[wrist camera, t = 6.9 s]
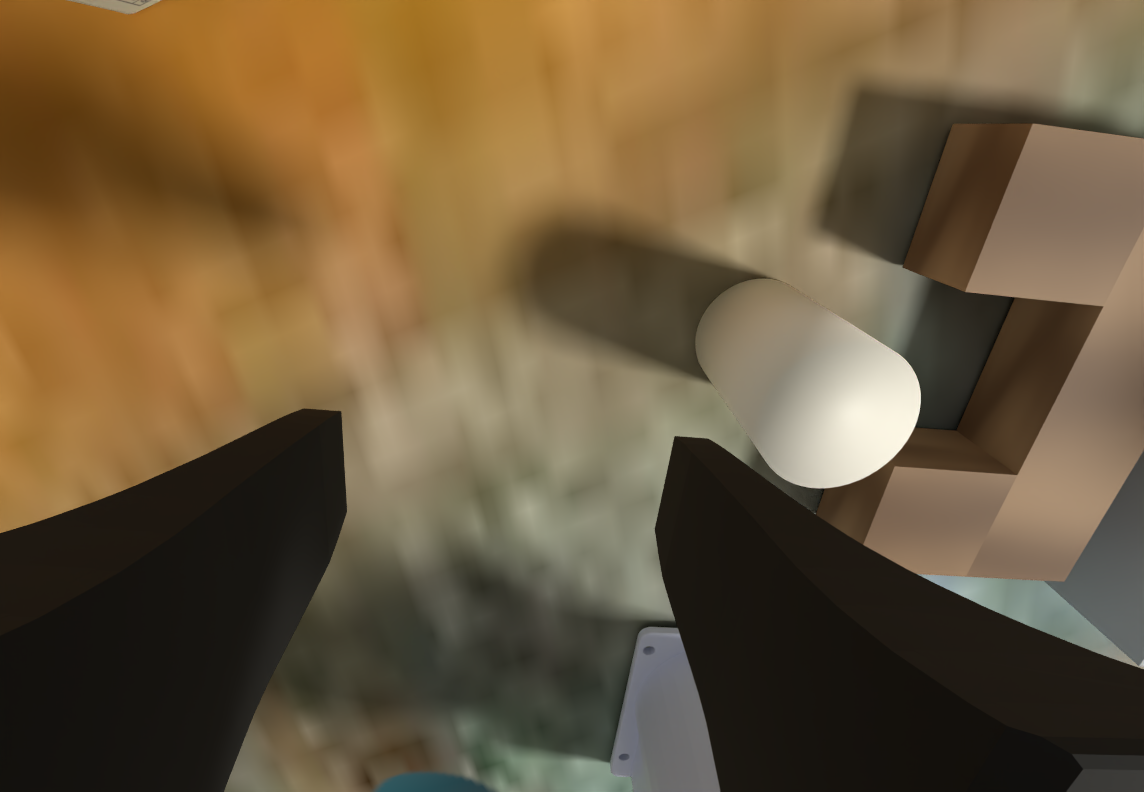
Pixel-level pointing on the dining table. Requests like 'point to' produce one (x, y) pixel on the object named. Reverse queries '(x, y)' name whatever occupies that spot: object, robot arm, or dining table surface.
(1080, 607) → the wall
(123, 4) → the skincare box
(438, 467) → the dining table surface
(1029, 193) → the block
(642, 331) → the dining table surface
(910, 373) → the dowel
